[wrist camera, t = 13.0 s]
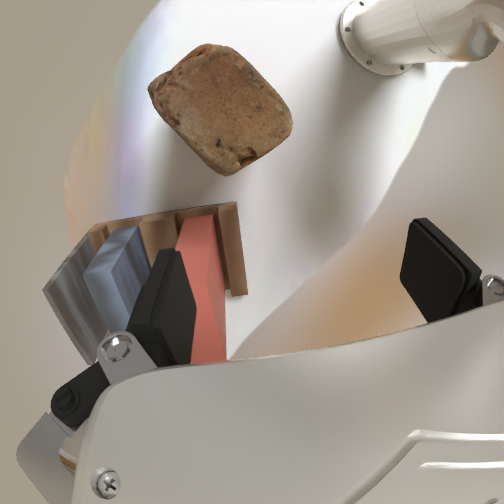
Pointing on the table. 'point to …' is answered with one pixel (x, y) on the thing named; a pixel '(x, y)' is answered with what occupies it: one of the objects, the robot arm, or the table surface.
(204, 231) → the book
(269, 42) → the table surface
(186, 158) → the table surface
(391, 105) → the table surface
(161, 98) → the block
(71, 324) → the book stand
